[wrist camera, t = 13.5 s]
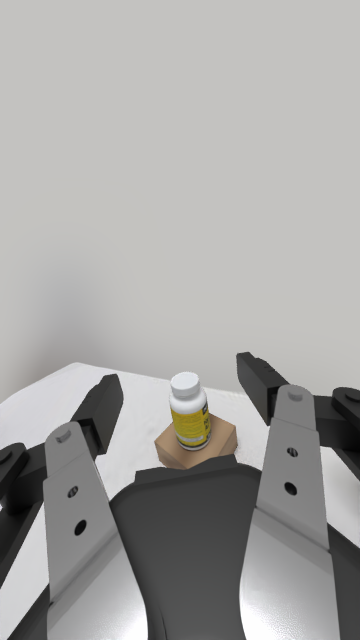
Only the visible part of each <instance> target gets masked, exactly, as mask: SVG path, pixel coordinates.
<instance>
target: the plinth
mask: <svg viewBox="0 0 360 640" xmlns="http://www.w3.org/2000/svg"><path fill="white" fill-rule="evenodd" d="M209 418H210V425H211V438H210V441H209V442H208V444H207V445H206V446H205V447H203V448H201V449H199V450H187V449H185V448H183V447H182V446H181V445H180V444H179V442H178V440H177V437H176V433H175V428H174V423H173V422H172V423H171V424H170V425H169V426H168V427H167V428H166V430H165V431H164V432H163V433H162V434H161V435H160V436H159V437H158V438H157V439H156V440H155V441H154V442H155V446H156V449H157V453H158V457H159V460H160V461H161V462H162V463H163V464H164V465H165V466H166V467H167V468H174V469H182V470H186V469H189V468H191V467H193V466H195V465H197V464H199V463H201V462H203V461H205V460H207V459H209V458H213V457H218V456H224V455H229V454H233V453H234V451H235V449H236V447H237V446H238V445H237V436H236V426H235V425H233V424H231V423H228V422H226V421H224V420H222V419H220V418H218V417H216V416H214V415H212V414H210V413H209Z"/></svg>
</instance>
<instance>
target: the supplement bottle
mask: <svg viewBox="0 0 360 640" xmlns="http://www.w3.org/2000/svg"><path fill="white" fill-rule="evenodd" d="M171 388H172V392H171V394H170V397H169V403H170V409H171V414H172V418H173V423H174V428H175V433H176V437H177V440H178V442H179V444H180V445H181V446H182V447H183V448H185V449H187V450H199V449H201V448H203V447H205V446H206V445H207V444H208V442H209V441H210V438H211V425H210V418H209V411H208V404H207V397H206V393H205V391H204V389H203V388H202V387H201V386H200V382H199V377H198V376H197V375H196V374H195V373H192V372H182V373H179V374H177V375H175V376H174V377H173V378H172V379H171Z"/></svg>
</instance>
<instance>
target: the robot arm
mask: <svg viewBox="0 0 360 640" xmlns="http://www.w3.org/2000/svg"><path fill="white" fill-rule="evenodd" d="M236 358H237V374H238V379H239V382H240V384H241V385H242V387H243V388H244V390H245V392H246V393H247V395H248V396H249V398H250V400H251V401H252V403H253V404H254V406H255V407H256V409H257V411H258V412H259V414H260V415H261V417H262V419H263V420H264V422H265V423H266V425H267V426H270V430H269V436H268V441H267V447H266V452H265V458H264V464H263V469H262V471H260V470H259V469H257V468H255V467H252V466H249V465H246V464H242V463H237V461H236V458H235V455H234V454H229V455H224V456H218V457H213V458H209V459H207V460H205V461H203V462H201V463H199V464H197V465H195V466H193V467H191V468H189V469H186V470H182V469H174V468H165V467H157V468H151V469H146V470H140V471H136V474H135V481H134V482H133V483H131V484H129V485H128V486H126V487H125V488H123V489H122V490H121V491H120V492H119V493H117V494H116V495H115V496H114V497H113V498H112V500H111V501H109V498H108V496H107V493H106V490H105V488H104V485H103V482H102V480H101V477H100V474H99V472H98V469H97V467H96V464H95V459H96V457H97V455H103V454H106V452H107V449H108V446H109V443H110V440H111V437H112V434H113V431H114V428H115V425H116V422H117V419H118V416H119V413H120V411H121V408H122V405H123V391H122V388H121V385H120V381H119V378H118V375H117V374H111V375H105V376H103V378H102V380H101V381H100V383H99V384H98V385H95V386H94V387H93V388H92V389H91V390H90V391H89V392H88V394H87V395H86V397H85V398H84V400H83V402H82V404H81V405H80V406H79V408H78V409H77V411H76V412H75V414H74V415H73V417H72V418H71V420H70V422H68V423H65V424H63V425H61V426H60V427H58V428H57V429H55V430H54V431H53V432H52V433H51V434H50V435H49V436H48V438H47V439H46V441H45V442H44V443H42V444H39V445H37V446H35V447H32V448H30V449H28V450H27V449H26V447H25V445H24V444H23V443H14V444H11V445H9V446H7V447H5V448H3V449H2V450H0V504H1V505H2V507H3V508H2V510H1V511H0V589H1V587H2V585H3V583H4V581H5V579H6V576H7V574H8V572H9V570H10V568H11V566H12V564H13V562H14V560H15V558H16V556H17V554H18V552H19V550H20V548H21V546H22V544H23V542H24V540H25V538H26V536H27V534H28V532H29V530H30V528H31V526H32V524H33V522H34V520H35V518H36V516H37V514H38V512H39V510H40V508H41V506H42V504H43V502H44V509H45V524H46V539H47V554H48V569H49V584H48V585H47V586H46V588H45V589H44V590H43V592H42V593H41V594H40V596H39V597H38V598H37V600H36V601H35V602H34V604H33V605H32V607H31V608H30V609H29V611H28V612H27V613H26V615H25V616H24V617H23V619H22V620H21V621H20V623H19V624H18V625H17V627H16V628H15V630H14V631H13V632H12V634H11V635H10V636H9V638H8V639H7V640H360V548H358V547H357V546H356V545H355V544H353V543H352V542H351V541H350V540H348V539H347V538H346V537H345V536H343V535H342V534H341V533H340V532H338V531H337V530H336V529H335V528H333V527H332V526H331V525H330V524H328V523H327V520H326V509H325V498H324V487H323V475H322V464H321V453H320V446H323V447H330V448H332V449H333V450H334V451H335V452H336V454H337V455H338V456H339V457H340V458H341V460H342V461H343V462H344V463H345V464H346V465H347V467H348V468H349V469H350V470H351V471H352V473H353V474H354V475H355V476H356V477H357V478H358V480H359V481H360V391H359V390H356V389H353V388H347V387H339V388H336V389H334V390H333V394H332V397H328V396H315V395H312V394H311V393H310V392H309V391H308V390H307V389H305V388H303V387H300V386H297V385H291V384H289V383H288V382H287V381H286V380H285V379H284V378H283V377H282V376H281V375H280V374H279V373H278V372H277V371H275V369H273V368H272V367H271V366H270V365H269V364H268V363H267V362H266V361H264V360H262V359H260V358H254V357H253V356H252V355H251V354H250V352H244V353H238V354H237V356H236Z"/></svg>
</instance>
